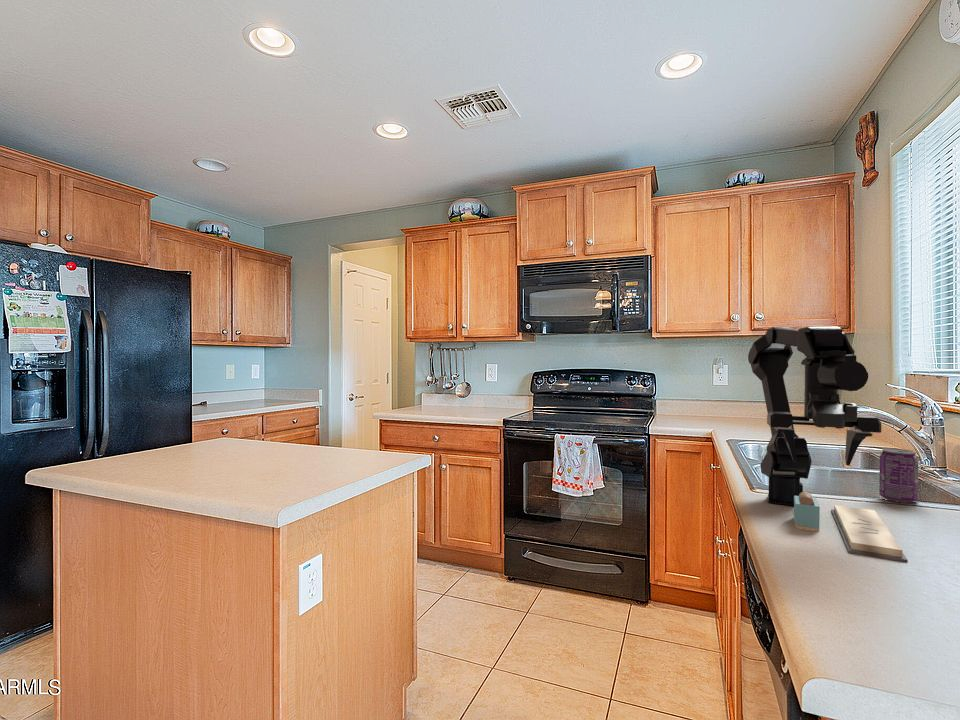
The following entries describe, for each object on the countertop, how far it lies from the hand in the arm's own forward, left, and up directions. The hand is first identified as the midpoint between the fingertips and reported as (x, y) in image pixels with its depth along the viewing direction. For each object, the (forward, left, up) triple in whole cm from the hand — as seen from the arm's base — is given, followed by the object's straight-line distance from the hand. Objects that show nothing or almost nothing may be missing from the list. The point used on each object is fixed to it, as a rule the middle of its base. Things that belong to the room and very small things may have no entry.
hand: (820, 463), depth 101 cm
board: (+7, -1, -13) cm, 15 cm away
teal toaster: (-2, -1, -13) cm, 13 cm away
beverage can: (+18, +31, -13) cm, 38 cm away
